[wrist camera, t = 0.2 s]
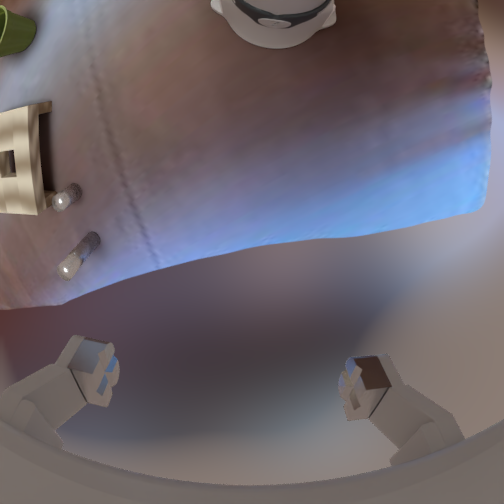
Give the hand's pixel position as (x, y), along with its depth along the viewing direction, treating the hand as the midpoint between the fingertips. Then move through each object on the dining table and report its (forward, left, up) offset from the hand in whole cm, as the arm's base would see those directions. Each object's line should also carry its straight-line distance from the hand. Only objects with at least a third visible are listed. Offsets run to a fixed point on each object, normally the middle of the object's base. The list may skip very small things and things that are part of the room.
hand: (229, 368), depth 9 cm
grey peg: (+19, -29, -39) cm, 52 cm away
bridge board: (+1, -44, -39) cm, 59 cm away
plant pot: (-25, -47, -39) cm, 66 cm away
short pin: (+9, -32, -39) cm, 51 cm away
